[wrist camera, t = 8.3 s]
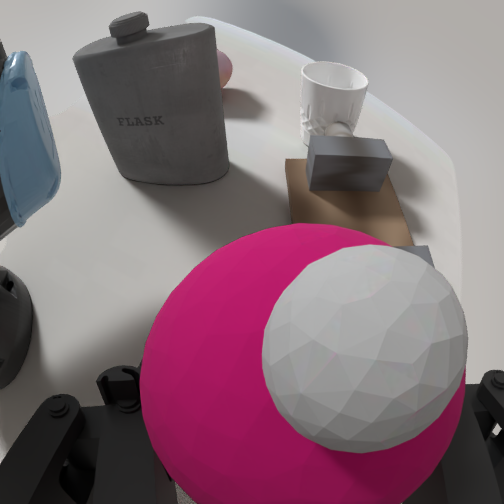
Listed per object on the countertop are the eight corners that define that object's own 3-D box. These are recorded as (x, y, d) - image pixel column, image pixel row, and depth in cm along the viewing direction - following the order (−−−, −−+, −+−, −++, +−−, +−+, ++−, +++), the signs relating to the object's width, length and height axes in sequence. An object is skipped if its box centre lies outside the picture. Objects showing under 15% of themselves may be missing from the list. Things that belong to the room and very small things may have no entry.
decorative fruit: (175, 92, 45) (166, 43, 37) (218, 79, 47) (213, 31, 38) (192, 114, 41) (182, 57, 32) (241, 99, 43) (238, 43, 34)
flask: (110, 182, 34) (50, 45, 17) (129, 152, 37) (85, 23, 20) (221, 191, 33) (196, 10, 15) (233, 156, 35) (219, -3, 18)
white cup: (365, 145, 36) (381, 83, 28) (324, 165, 34) (337, 95, 26) (325, 116, 40) (333, 58, 31) (283, 133, 38) (287, 67, 29)
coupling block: (303, 358, 23) (317, 339, 18) (283, 159, 35) (286, 115, 29) (428, 342, 23) (467, 319, 17) (375, 162, 35) (389, 122, 29)
